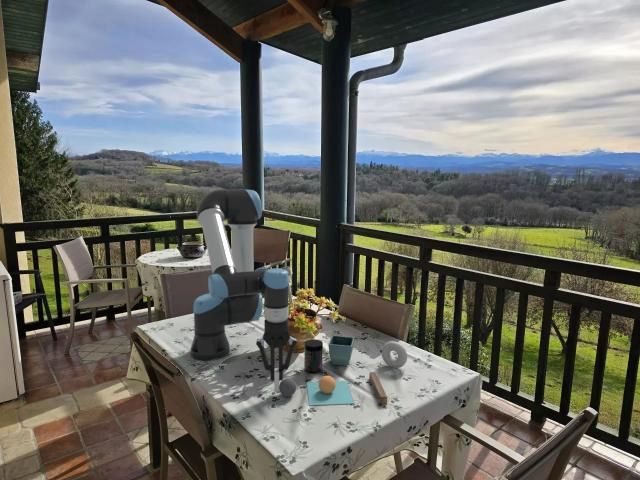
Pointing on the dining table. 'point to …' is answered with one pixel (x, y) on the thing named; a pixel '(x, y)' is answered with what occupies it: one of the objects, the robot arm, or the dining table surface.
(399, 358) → the donut
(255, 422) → the dining table surface
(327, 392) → the object ball
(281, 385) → the dark grey ball
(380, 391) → the strip
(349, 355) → the flower pot
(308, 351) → the supplement container
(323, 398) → the teal mark
